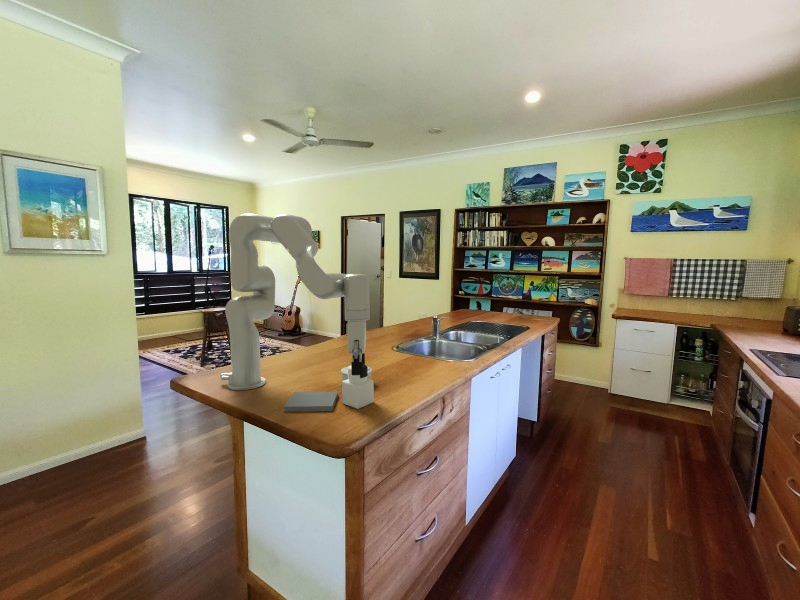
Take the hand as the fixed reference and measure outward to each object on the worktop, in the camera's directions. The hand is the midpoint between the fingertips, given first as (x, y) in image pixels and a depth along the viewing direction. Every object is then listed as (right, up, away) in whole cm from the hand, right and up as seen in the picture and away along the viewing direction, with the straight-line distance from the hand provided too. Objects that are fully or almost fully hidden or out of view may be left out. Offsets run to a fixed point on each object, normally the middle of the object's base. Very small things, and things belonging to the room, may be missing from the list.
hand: (358, 370), depth 109 cm
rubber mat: (-14, -10, +1) cm, 18 cm away
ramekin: (-3, -9, +19) cm, 21 cm away
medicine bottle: (0, -11, +1) cm, 11 cm away
